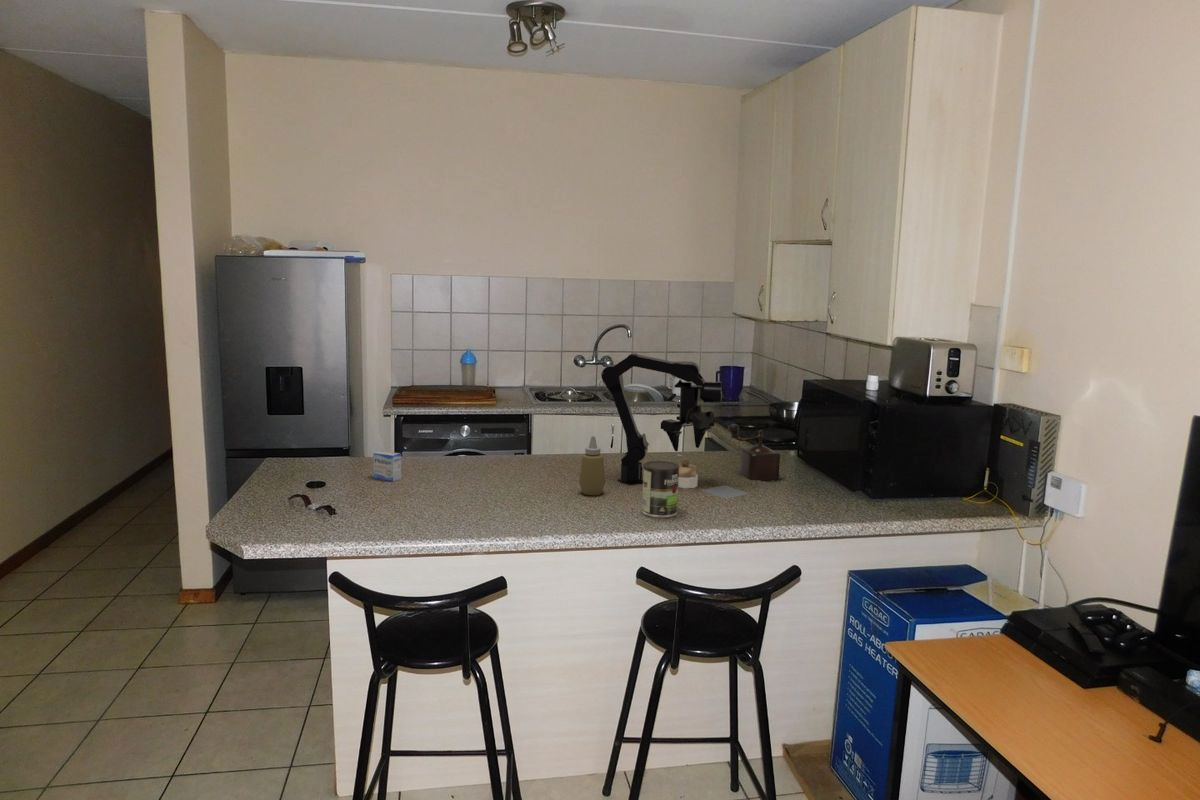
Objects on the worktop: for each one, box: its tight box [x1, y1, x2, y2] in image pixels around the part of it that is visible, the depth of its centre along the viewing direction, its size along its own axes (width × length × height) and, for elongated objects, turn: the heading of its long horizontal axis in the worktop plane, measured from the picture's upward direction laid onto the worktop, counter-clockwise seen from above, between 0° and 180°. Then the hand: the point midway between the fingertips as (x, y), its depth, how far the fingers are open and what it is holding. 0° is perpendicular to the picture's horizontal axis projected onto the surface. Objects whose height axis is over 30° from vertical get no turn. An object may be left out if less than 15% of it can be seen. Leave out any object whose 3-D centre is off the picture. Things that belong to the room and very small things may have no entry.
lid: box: [677, 459, 697, 478], centre depth 256 cm, size 7×7×5 cm
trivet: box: [699, 485, 751, 500], centre depth 250 cm, size 11×11×1 cm
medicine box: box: [372, 450, 402, 482], centre depth 257 cm, size 8×4×9 cm, turn 68°
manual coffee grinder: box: [727, 423, 781, 482], centre depth 269 cm, size 16×11×18 cm
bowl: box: [678, 473, 699, 489], centre depth 257 cm, size 8×8×4 cm
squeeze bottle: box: [578, 435, 606, 496], centre depth 245 cm, size 8×8×18 cm
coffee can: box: [641, 460, 679, 519], centre depth 228 cm, size 10×10×14 cm
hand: (686, 449), depth 256 cm, fingers open, 9 cm apart
